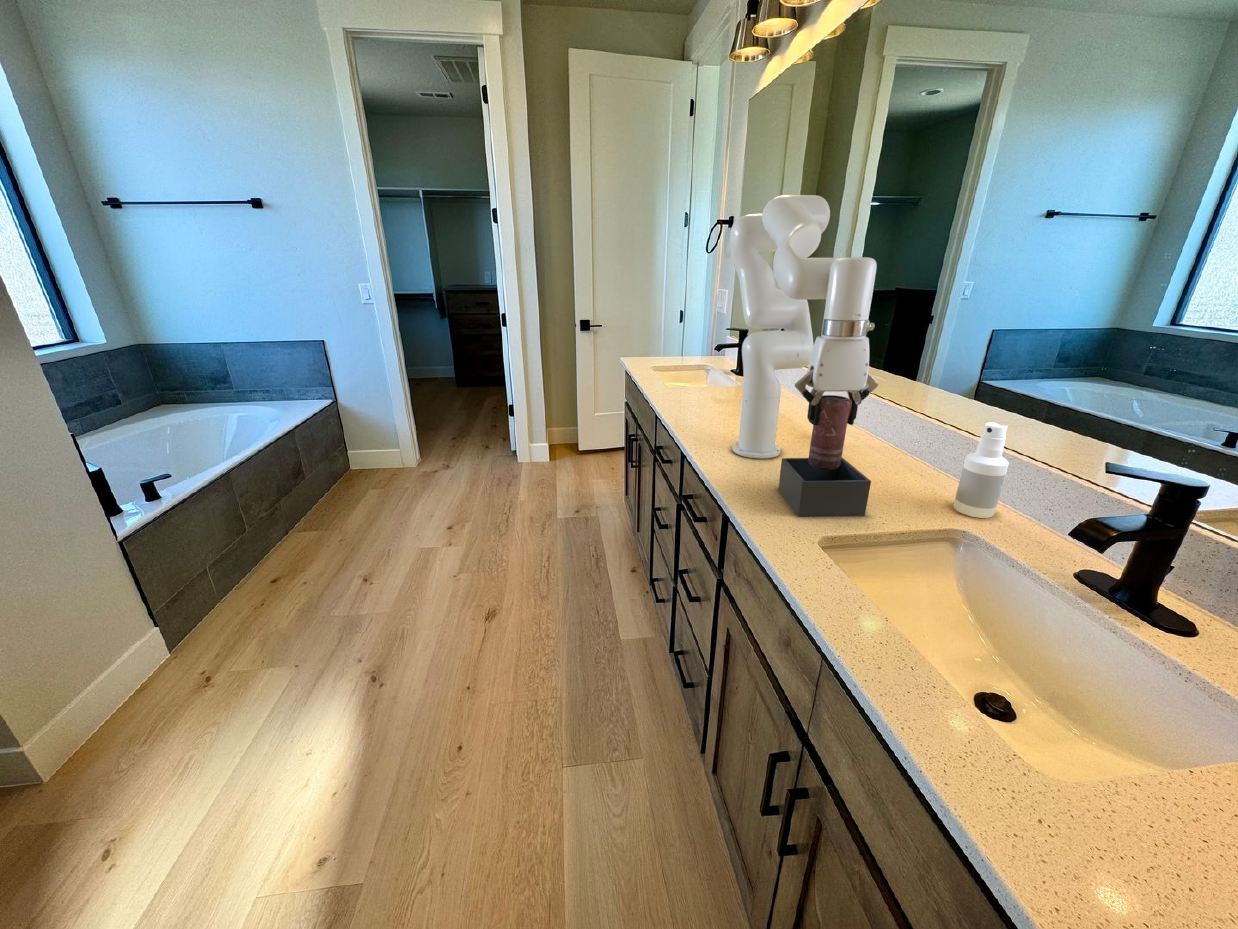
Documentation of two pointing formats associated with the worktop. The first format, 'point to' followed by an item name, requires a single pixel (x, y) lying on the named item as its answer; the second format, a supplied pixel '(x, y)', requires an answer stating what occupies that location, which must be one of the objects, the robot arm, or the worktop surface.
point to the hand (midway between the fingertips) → (830, 422)
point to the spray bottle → (983, 474)
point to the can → (829, 432)
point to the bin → (823, 489)
